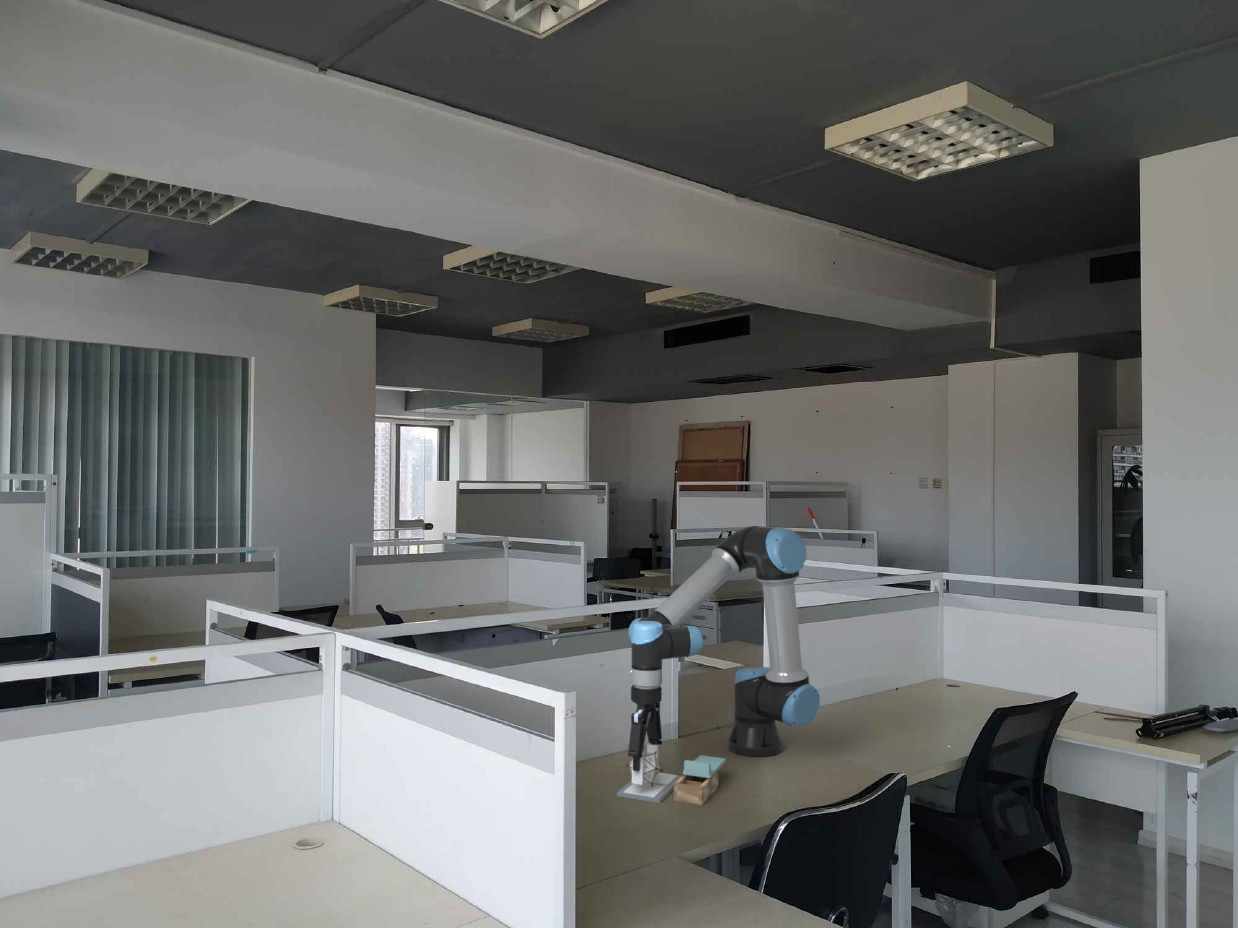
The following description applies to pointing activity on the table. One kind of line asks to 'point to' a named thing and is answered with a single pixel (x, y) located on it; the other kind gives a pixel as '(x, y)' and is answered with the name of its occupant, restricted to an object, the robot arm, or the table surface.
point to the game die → (649, 767)
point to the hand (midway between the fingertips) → (645, 777)
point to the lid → (703, 766)
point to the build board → (650, 788)
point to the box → (695, 788)
